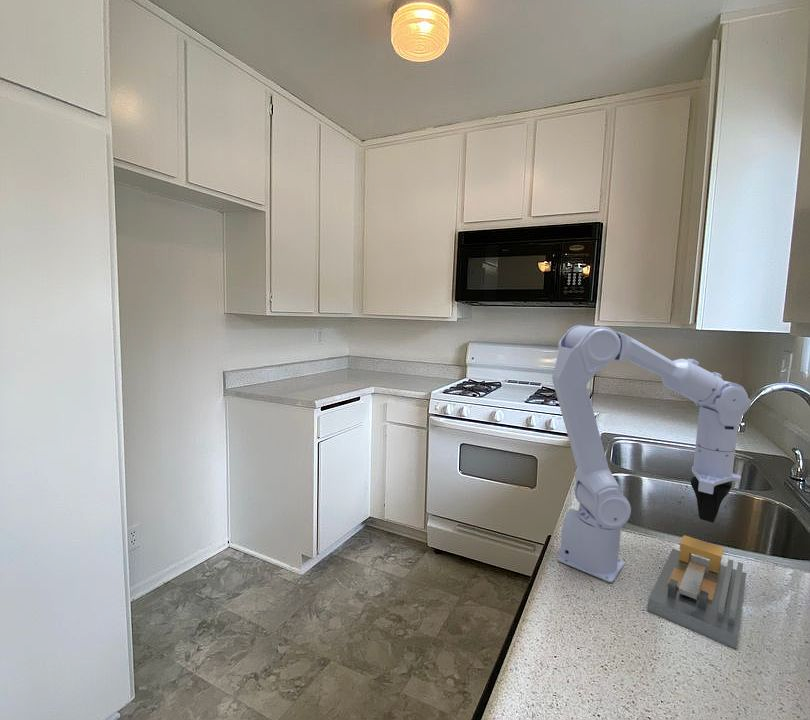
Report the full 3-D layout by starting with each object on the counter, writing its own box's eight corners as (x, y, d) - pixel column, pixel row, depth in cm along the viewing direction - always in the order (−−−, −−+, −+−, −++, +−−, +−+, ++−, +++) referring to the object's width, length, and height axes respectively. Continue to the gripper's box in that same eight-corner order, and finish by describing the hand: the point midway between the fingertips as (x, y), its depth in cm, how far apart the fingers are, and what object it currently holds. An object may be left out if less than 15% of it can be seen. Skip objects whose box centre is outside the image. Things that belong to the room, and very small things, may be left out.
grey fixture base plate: (647, 610, 66) (650, 584, 66) (671, 558, 81) (674, 536, 80) (736, 649, 59) (740, 619, 58) (744, 584, 74) (748, 560, 73)
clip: (678, 559, 77) (680, 543, 76) (682, 551, 80) (683, 535, 79) (719, 574, 73) (721, 556, 72) (721, 564, 76) (723, 547, 75)
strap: (678, 592, 67) (678, 588, 66) (689, 563, 75) (689, 560, 75) (696, 599, 65) (697, 595, 65) (705, 569, 73) (706, 565, 73)
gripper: (739, 462, 67) (730, 543, 69) (746, 443, 78) (738, 513, 79) (687, 451, 72) (679, 527, 73) (700, 435, 83) (693, 501, 84)
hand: (706, 519), depth 77 cm, fingers closed
